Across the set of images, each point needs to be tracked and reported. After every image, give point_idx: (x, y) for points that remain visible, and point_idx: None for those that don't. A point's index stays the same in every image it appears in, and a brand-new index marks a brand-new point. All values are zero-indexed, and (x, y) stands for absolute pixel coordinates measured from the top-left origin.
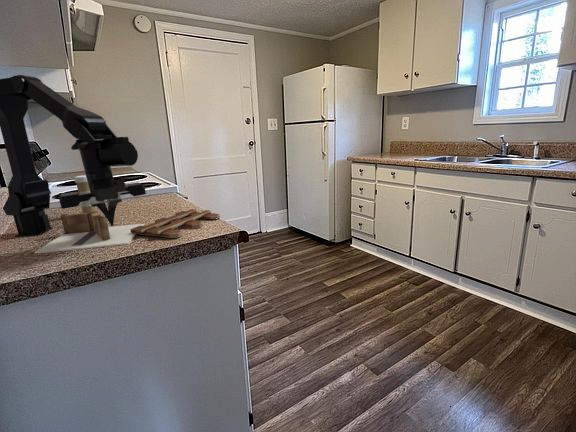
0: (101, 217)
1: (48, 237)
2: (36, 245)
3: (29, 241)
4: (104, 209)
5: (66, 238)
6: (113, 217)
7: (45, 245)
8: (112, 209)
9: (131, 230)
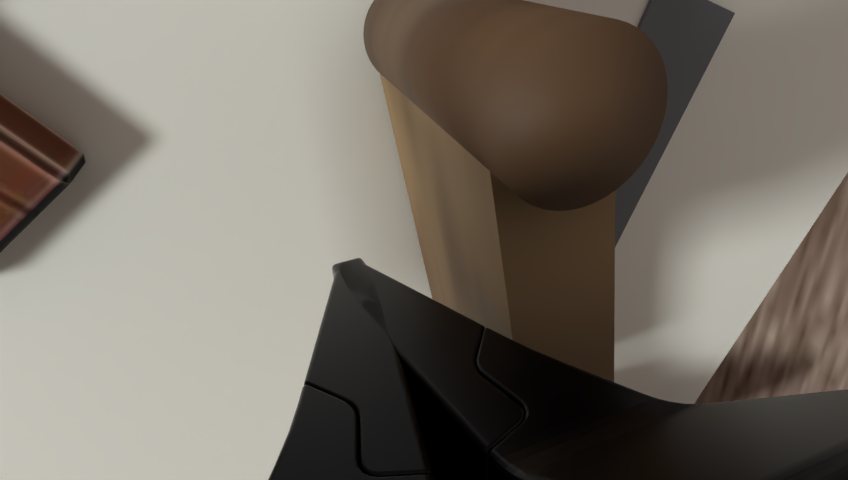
0: (589, 136)
1: (748, 396)
2: (844, 250)
3: (834, 356)
4: (558, 429)
5: (699, 297)
6: (327, 339)
7: (843, 175)
8: (347, 467)
9: (49, 151)
